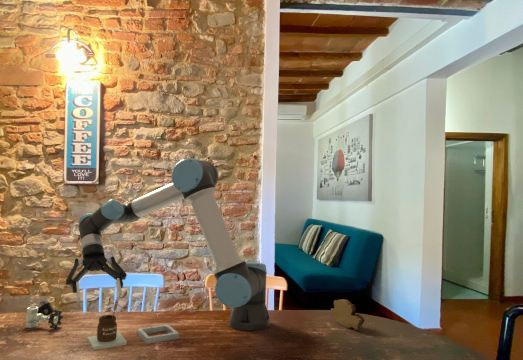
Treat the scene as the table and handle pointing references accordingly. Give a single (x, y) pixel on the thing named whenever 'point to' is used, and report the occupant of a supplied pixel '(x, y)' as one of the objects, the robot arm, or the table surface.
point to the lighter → (45, 308)
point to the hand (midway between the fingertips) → (100, 297)
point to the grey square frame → (159, 338)
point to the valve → (42, 318)
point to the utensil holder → (107, 326)
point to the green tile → (100, 345)
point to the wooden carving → (347, 314)
